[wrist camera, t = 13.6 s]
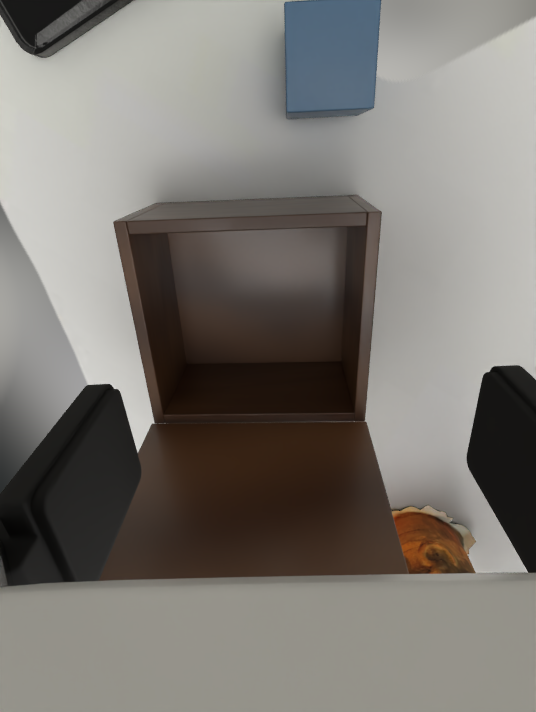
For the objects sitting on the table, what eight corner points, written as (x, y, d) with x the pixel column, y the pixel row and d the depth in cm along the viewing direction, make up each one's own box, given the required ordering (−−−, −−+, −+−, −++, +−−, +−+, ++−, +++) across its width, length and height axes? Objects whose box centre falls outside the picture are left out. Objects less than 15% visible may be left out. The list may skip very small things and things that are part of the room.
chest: (155, 203, 32) (112, 221, 24) (358, 194, 31) (382, 211, 23) (181, 367, 38) (154, 424, 31) (348, 364, 38) (365, 421, 30)
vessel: (430, 476, 43) (530, 706, 25) (496, 547, 48) (621, 785, 30) (323, 535, 48) (344, 763, 30) (392, 594, 52) (447, 824, 35)
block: (362, 25, 26) (381, -5, 21) (358, 115, 29) (374, 108, 23) (284, 30, 27) (284, 1, 21) (286, 119, 29) (286, 113, 24)
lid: (38, 661, 16) (75, 725, 19) (436, 670, 15) (417, 737, 18) (151, 423, 30) (164, 479, 33) (366, 421, 29) (361, 479, 32)
